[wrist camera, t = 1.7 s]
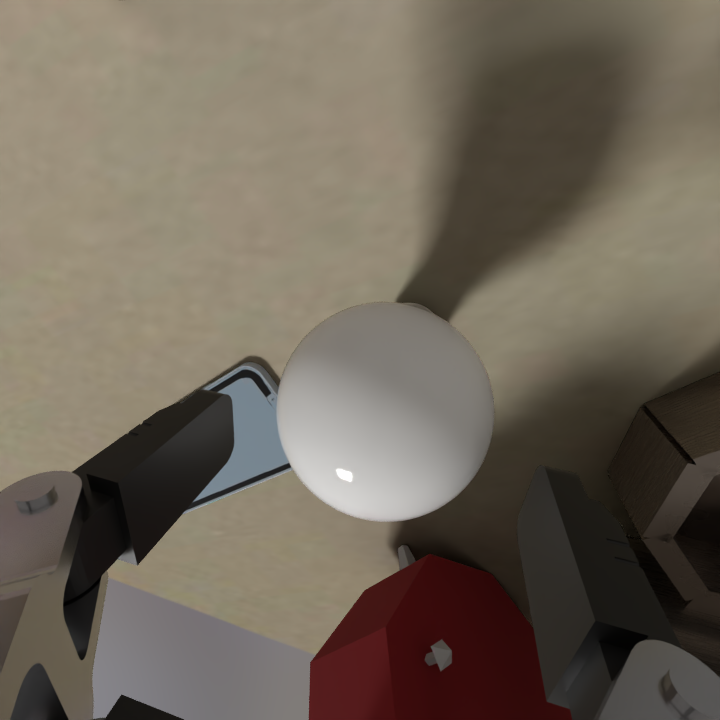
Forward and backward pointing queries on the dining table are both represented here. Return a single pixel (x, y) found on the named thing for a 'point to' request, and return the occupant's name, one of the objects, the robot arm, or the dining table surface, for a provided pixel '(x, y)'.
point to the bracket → (678, 509)
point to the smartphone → (247, 434)
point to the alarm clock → (431, 651)
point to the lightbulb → (385, 411)
